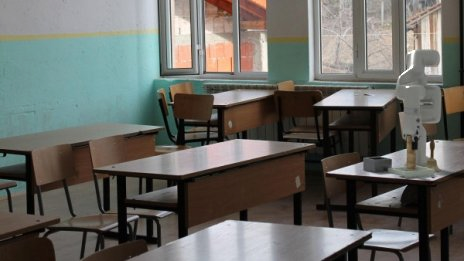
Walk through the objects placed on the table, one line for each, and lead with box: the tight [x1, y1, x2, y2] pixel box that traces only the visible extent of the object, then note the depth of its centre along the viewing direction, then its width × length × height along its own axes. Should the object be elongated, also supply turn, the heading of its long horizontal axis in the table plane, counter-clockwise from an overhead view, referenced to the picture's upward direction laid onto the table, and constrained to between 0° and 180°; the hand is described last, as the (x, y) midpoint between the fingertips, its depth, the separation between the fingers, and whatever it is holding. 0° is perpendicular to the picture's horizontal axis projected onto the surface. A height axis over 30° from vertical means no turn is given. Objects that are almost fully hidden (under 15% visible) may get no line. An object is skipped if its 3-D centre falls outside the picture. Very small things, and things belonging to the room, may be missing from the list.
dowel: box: [406, 136, 416, 171], centre depth 421 cm, size 4×4×16 cm
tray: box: [387, 165, 436, 179], centre depth 423 cm, size 17×14×3 cm
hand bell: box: [425, 138, 441, 173], centre depth 434 cm, size 8×8×16 cm
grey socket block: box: [362, 156, 393, 173], centre depth 431 cm, size 10×10×7 cm
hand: (411, 148), depth 421 cm, fingers closed on dowel, 4 cm apart
